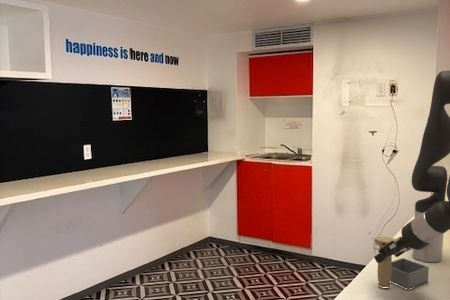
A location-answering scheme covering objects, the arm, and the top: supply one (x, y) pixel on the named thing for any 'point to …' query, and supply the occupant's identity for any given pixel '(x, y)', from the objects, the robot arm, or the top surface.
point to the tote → (408, 273)
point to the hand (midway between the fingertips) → (385, 257)
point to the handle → (384, 263)
